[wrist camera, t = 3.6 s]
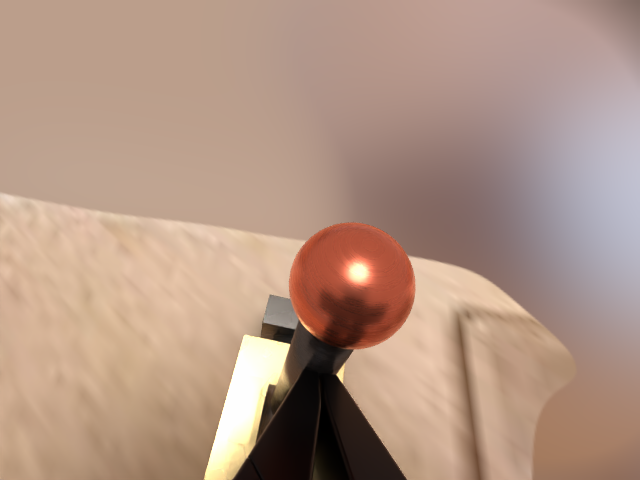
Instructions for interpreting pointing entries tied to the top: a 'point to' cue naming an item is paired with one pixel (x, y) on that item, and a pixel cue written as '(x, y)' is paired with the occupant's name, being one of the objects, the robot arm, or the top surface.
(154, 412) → the top surface
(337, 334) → the valve lever
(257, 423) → the valve pipe
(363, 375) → the top surface
